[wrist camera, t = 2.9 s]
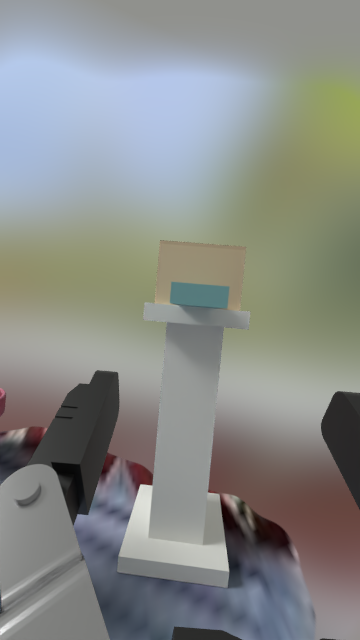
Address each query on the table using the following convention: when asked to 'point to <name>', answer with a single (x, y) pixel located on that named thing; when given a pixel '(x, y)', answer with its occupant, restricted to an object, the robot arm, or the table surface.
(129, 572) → the stand
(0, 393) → the plant pot
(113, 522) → the table surface
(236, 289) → the carton
